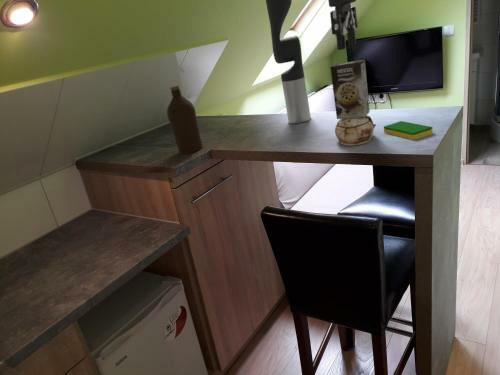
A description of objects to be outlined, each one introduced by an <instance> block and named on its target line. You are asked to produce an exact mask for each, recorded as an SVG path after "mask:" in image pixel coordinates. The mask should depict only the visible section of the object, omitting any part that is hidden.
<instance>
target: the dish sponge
mask: <svg viewBox="0 0 500 375" xmlns="http://www.w3.org/2000/svg"><path fill="white" fill-rule="evenodd" d="M383 133H385V134H389V135H393V136H398V137H401V138H406V139H408V140H417V139H420V138H424V137H426V136H429V135H433V133H434V132H433V126H428V125H425V124H418V123H414V122H408V121H403V120H401V121H397V122H394V123H391V124H387V125H384V126H383Z"/></svg>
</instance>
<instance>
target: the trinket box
mask: <svg viewBox="0 0 500 375" xmlns="http://www.w3.org/2000/svg"><path fill="white" fill-rule="evenodd" d="M336 122H337V123H336V125H335V128H334V134H335V137H336V139H337V140H338V141H339V143H340V144H342V145H344V146H351V147H352V146H359V145H363V144H366V143H368V142H370V141H371V139H372V136H373V134H374V131H375V130H374V129H375V127H376V126H377V125H376V124H375V123H374V121H373V120H372V117H371V116H369V114H367V115H366V117H358V118H346V119H338V121H336Z"/></svg>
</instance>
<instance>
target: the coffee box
mask: <svg viewBox="0 0 500 375" xmlns="http://www.w3.org/2000/svg"><path fill="white" fill-rule="evenodd" d="M329 69H330V74H331V82H332V83H331V84H332V90H333V99H334V107H335V115H336V119H337V120H340V119H346V118H358V117H366V115H369V113H370V102H369V100H370V99H369V92H368V90H369V89H368V82H367V69H366V59H359V60H351V61H347V62H345V61H344V62H340V63H338V62H337V63H334V64H333V65H331V66H330V68H329Z"/></svg>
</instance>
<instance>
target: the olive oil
mask: <svg viewBox="0 0 500 375" xmlns="http://www.w3.org/2000/svg"><path fill="white" fill-rule="evenodd" d="M170 90H171V91H170V92H171V96H172V98H171V100H170V103H169V104H168V105H167V109H166V110H167V112H166V115H167V119H168V120H169V124H170V127H171V130H172V133H173V136H174V139H175V143H176V145H177V150H178V153H179V154H181V155H186V154H187V155H188V154H192V153H195V152H199V151H200V150H202V149H203V146H204V145H203V143H202V138H201V134H200V128H199V123H198V120H197V119H198V118H197V113H196V109H195V106H194V104H193V103H192V102H191V101H190V100H188V99H187V98H185V97H184V96H183V95H182V93H181V89H180V86H179V85H174V86H170Z"/></svg>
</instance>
